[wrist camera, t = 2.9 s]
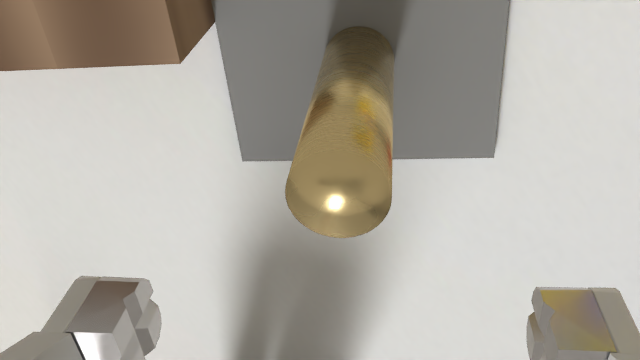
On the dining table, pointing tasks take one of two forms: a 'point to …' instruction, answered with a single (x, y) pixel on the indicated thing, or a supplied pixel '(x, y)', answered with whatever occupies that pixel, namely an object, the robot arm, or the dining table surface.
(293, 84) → the mat
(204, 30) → the hole block
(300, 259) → the dining table surface
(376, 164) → the pin
